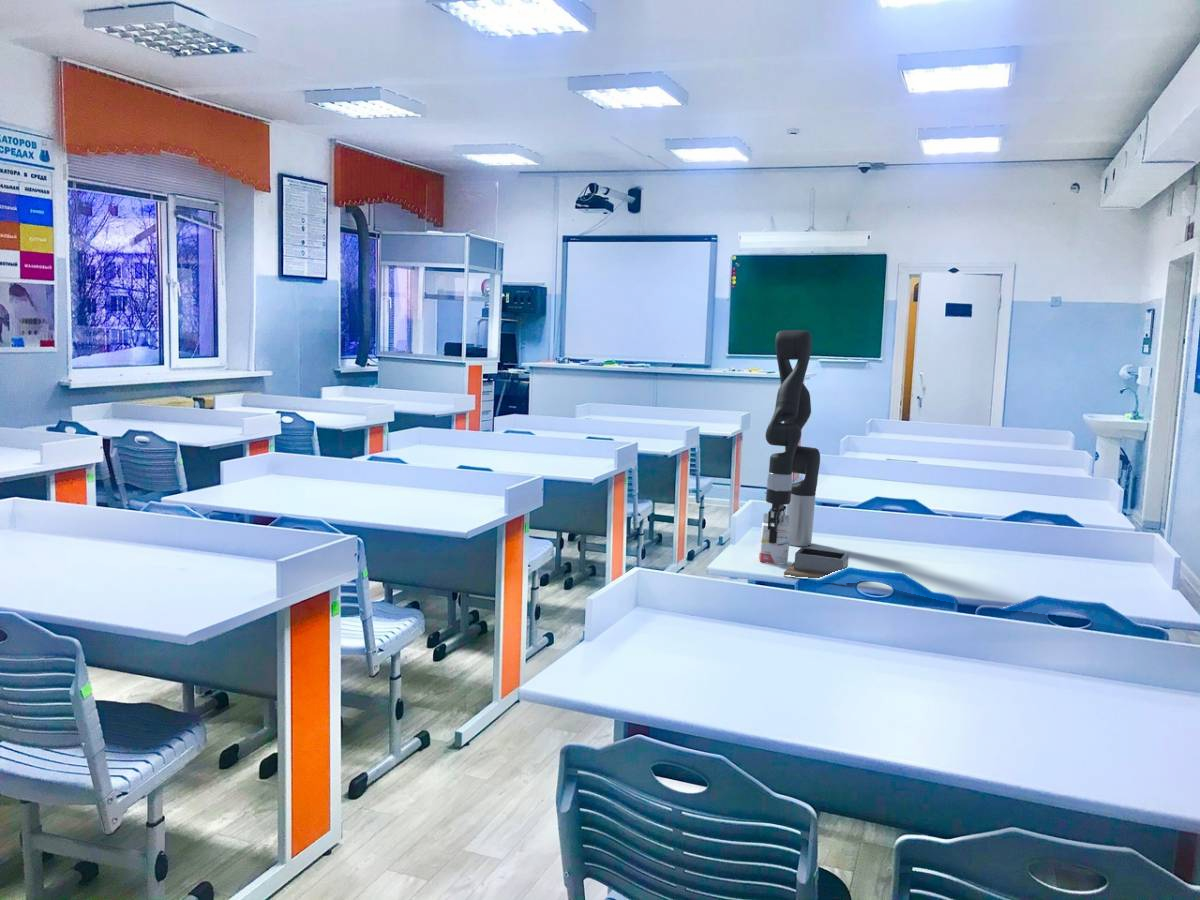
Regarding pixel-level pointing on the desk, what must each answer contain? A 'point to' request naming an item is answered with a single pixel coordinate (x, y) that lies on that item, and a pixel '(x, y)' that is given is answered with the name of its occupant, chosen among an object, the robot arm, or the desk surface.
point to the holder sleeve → (820, 561)
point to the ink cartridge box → (780, 548)
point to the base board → (801, 573)
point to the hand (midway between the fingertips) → (774, 540)
